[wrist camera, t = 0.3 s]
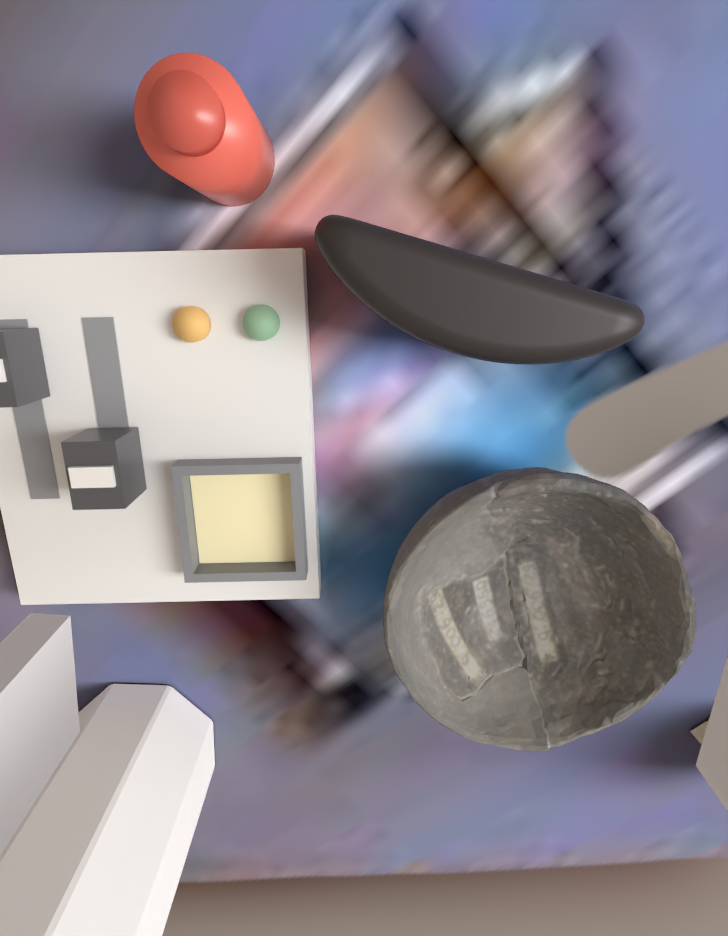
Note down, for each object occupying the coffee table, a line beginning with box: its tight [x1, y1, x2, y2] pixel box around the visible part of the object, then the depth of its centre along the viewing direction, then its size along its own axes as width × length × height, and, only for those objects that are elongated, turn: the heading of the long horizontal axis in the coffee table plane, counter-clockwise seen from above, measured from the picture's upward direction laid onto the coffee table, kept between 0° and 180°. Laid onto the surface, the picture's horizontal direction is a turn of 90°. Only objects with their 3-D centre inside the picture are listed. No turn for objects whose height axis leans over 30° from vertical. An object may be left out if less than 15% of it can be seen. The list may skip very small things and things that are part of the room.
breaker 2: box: [61, 427, 147, 510], centre depth 34 cm, size 4×3×4 cm
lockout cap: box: [134, 53, 275, 206], centre depth 29 cm, size 5×5×9 cm
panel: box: [0, 248, 321, 605], centre depth 36 cm, size 22×20×4 cm
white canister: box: [0, 684, 215, 936], centre depth 36 cm, size 11×11×18 cm
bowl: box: [383, 467, 696, 751], centre depth 37 cm, size 18×18×8 cm
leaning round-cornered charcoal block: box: [315, 215, 644, 364], centre depth 31 cm, size 16×5×9 cm, turn 75°
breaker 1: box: [0, 328, 50, 408], centre depth 33 cm, size 4×3×4 cm
